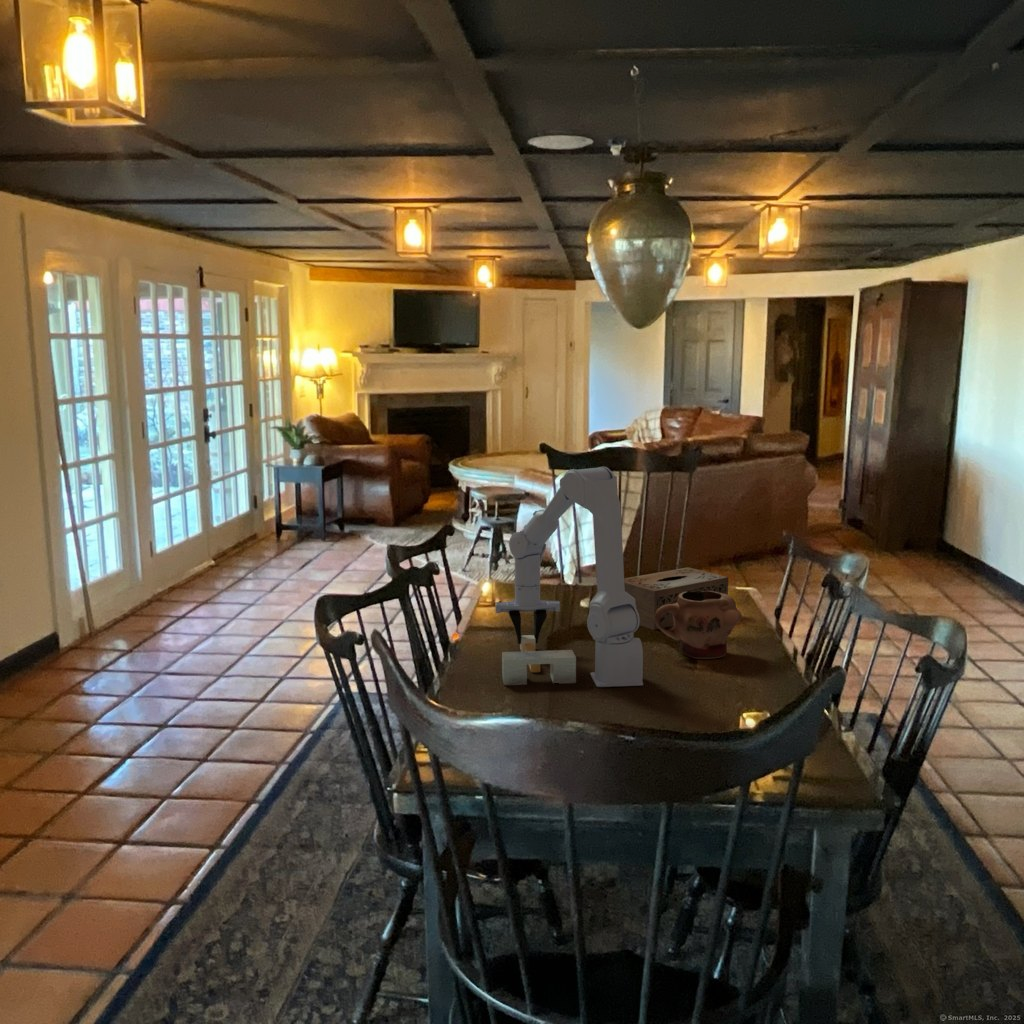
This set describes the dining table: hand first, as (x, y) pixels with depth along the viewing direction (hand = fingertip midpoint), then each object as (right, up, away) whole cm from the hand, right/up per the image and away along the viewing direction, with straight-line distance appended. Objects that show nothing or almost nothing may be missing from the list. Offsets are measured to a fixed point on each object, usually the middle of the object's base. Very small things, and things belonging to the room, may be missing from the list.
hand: (527, 642), depth 209 cm
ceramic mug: (+38, -2, -4) cm, 38 cm away
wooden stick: (+1, -3, -7) cm, 8 cm away
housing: (+2, -5, -20) cm, 21 cm away
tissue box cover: (+38, +2, +28) cm, 47 cm away
